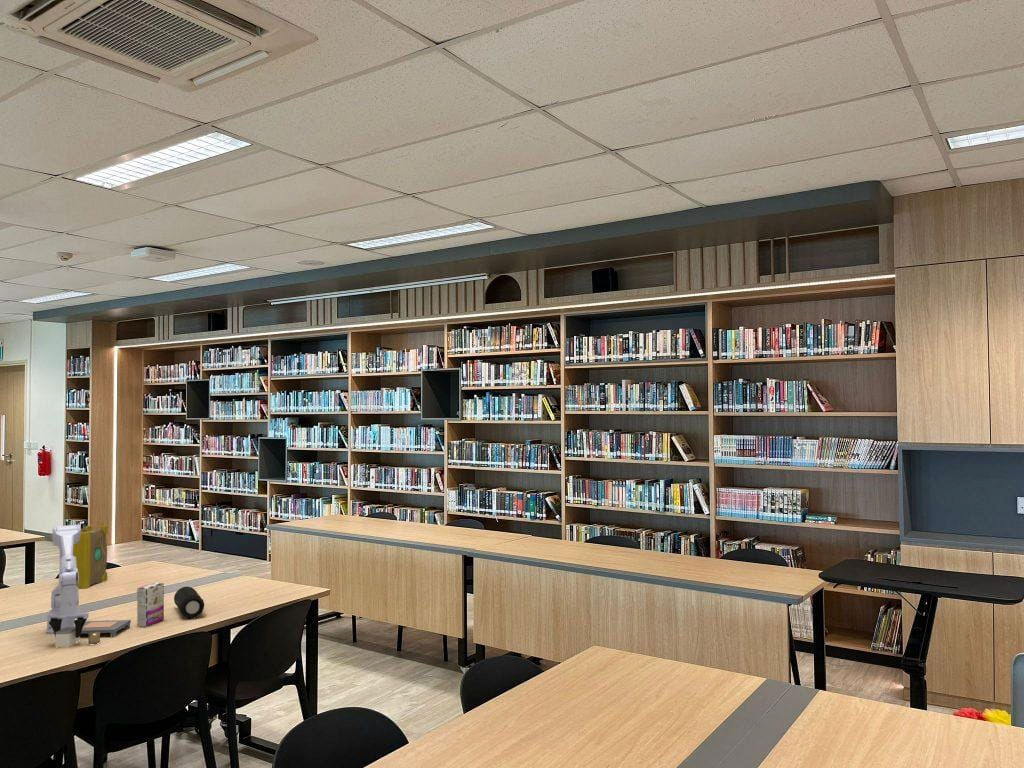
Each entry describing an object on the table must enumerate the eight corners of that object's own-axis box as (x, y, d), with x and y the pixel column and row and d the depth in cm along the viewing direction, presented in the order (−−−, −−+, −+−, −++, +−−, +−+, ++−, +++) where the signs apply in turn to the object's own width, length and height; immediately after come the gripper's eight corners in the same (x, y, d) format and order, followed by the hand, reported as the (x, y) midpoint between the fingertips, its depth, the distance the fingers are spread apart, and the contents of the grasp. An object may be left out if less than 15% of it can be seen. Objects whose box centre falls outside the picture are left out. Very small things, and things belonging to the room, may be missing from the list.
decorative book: (87, 588, 381) (88, 530, 382) (66, 588, 381) (67, 530, 382) (108, 580, 401) (109, 524, 402) (88, 580, 401) (89, 525, 402)
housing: (55, 648, 282) (55, 632, 282) (66, 641, 290) (67, 626, 290) (68, 647, 282) (69, 631, 282) (79, 641, 290) (80, 626, 290)
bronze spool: (86, 645, 284) (86, 635, 285) (91, 642, 288) (91, 632, 289) (96, 645, 285) (96, 634, 285) (101, 642, 289) (102, 631, 289)
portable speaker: (173, 608, 339) (173, 586, 339) (196, 605, 344) (196, 584, 344) (180, 621, 317) (180, 598, 318) (205, 618, 322) (205, 595, 323)
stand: (68, 638, 294) (68, 630, 294) (86, 628, 308) (86, 620, 308) (114, 637, 295) (114, 628, 295) (130, 627, 309) (130, 619, 309)
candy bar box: (154, 619, 320) (154, 581, 321) (164, 620, 319) (164, 582, 320) (136, 626, 309) (136, 587, 310) (146, 627, 308) (146, 588, 309)
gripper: (43, 605, 282) (42, 641, 282) (82, 604, 283) (81, 639, 282) (53, 600, 289) (53, 635, 289) (91, 599, 290) (91, 634, 289)
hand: (67, 637), depth 286 cm, fingers open, 7 cm apart
